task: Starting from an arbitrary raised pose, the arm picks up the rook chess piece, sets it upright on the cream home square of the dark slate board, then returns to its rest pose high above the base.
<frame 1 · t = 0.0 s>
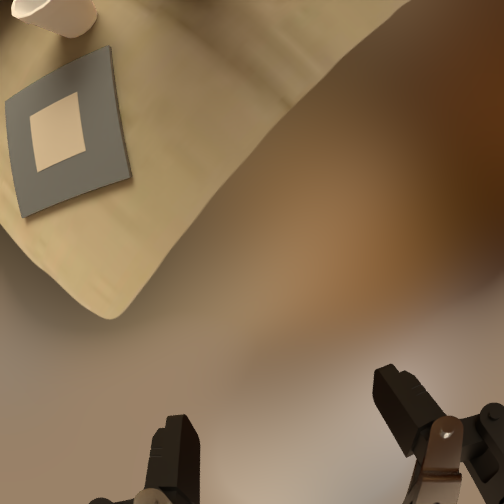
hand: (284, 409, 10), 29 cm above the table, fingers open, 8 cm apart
foam cup: (80, 22, 26), on the table
board: (58, 132, 31), on the table
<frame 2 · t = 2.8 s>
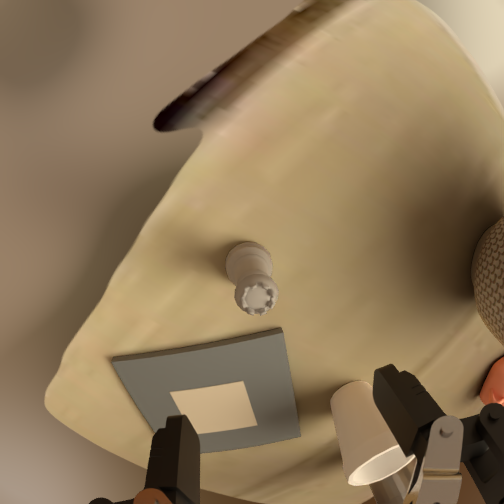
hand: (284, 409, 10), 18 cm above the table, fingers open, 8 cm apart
planter: (489, 258, 32), on the table
foam cup: (350, 395, 35), on the table
board: (215, 405, 33), on the table
rook chess piece: (248, 262, 28), on the table
teapot: (496, 370, 42), on the table
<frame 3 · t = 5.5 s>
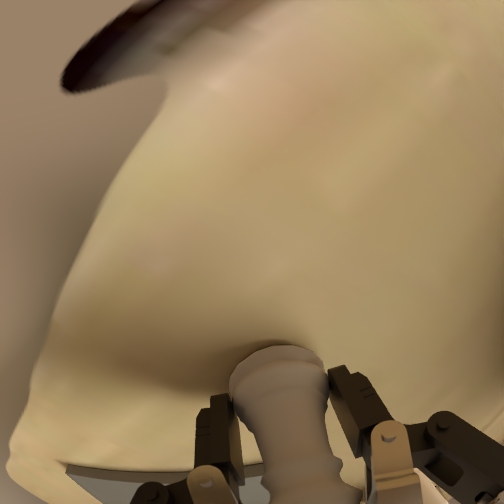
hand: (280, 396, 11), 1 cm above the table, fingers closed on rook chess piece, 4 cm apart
foam cup: (394, 482, 20), on the table
rook chess piece: (275, 374, 13), on the table, touching gripper
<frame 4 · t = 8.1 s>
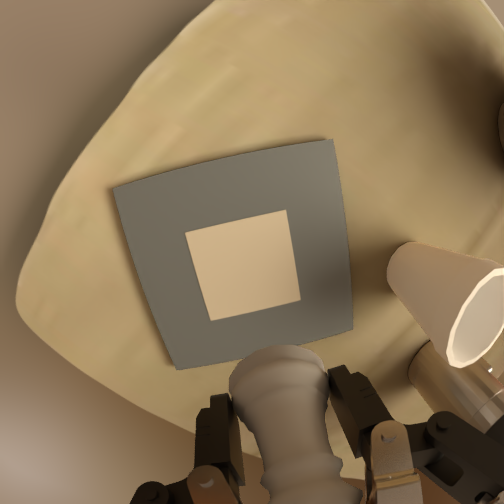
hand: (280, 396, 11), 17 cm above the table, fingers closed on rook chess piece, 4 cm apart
foam cup: (407, 267, 30), on the table
board: (245, 264, 27), on the table
rook chess piece: (275, 373, 13), point 15 cm above the table, touching gripper
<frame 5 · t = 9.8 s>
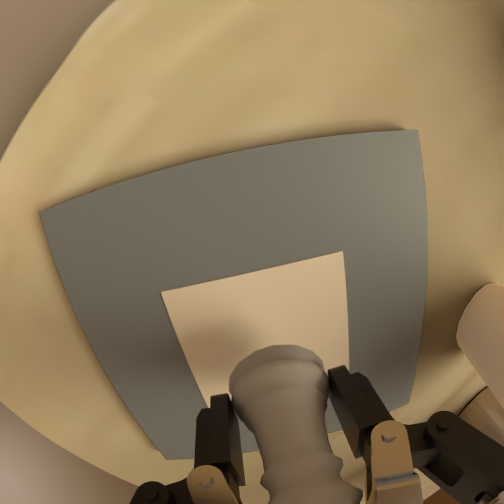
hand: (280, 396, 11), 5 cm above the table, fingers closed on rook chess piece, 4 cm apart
foam cup: (479, 316, 18), on the table
board: (266, 337, 16), on the table
rook chess piece: (275, 373, 13), point 3 cm above the table, touching gripper
when the fingers open (4 cm above the table, at t = 10.9 s): rook chess piece drops 1 cm, resting on board.
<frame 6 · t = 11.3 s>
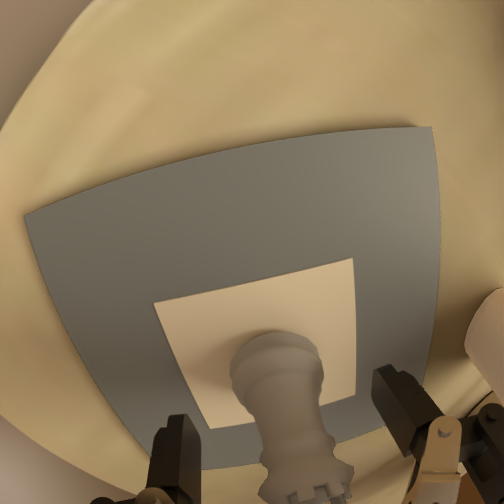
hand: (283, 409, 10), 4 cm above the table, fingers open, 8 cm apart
foam cup: (487, 321, 17), on the table
board: (268, 349, 15), on the table
rook chess piece: (273, 360, 14), point 1 cm above the table, touching board
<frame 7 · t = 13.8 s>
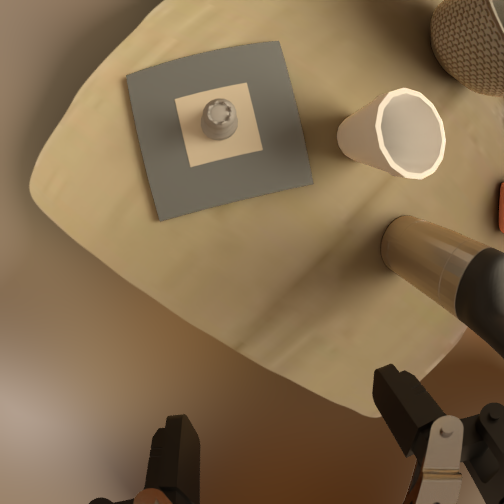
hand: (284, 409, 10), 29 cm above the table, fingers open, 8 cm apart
planter: (449, 53, 32), on the table
foam cup: (356, 138, 36), on the table
board: (218, 124, 33), on the table
rook chess piece: (219, 123, 32), point 1 cm above the table, touching board
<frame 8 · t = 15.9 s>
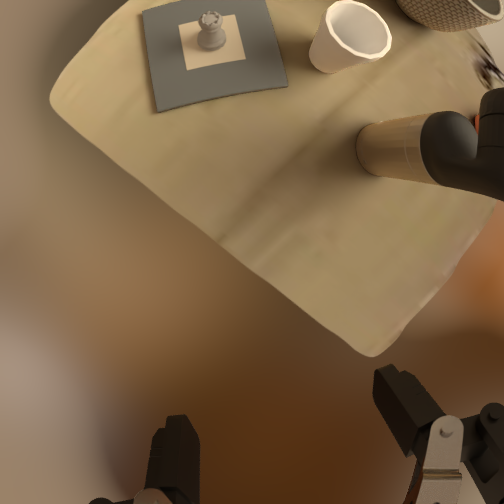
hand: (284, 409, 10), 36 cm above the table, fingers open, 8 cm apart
planter: (413, 5, 34), on the table
foam cup: (326, 57, 38), on the table
board: (211, 43, 36), on the table
rook chess piece: (211, 40, 35), point 1 cm above the table, touching board
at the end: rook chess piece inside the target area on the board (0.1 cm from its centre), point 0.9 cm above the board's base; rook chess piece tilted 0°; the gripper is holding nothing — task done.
